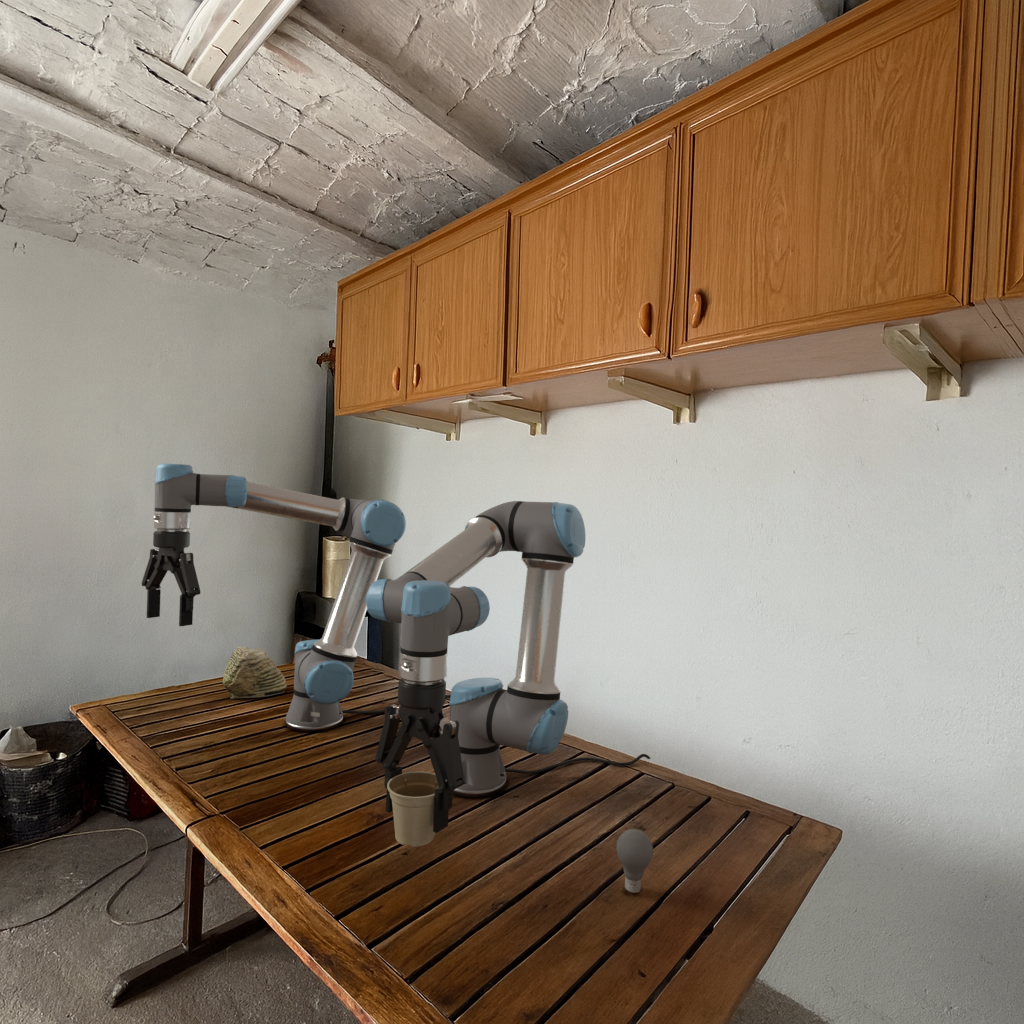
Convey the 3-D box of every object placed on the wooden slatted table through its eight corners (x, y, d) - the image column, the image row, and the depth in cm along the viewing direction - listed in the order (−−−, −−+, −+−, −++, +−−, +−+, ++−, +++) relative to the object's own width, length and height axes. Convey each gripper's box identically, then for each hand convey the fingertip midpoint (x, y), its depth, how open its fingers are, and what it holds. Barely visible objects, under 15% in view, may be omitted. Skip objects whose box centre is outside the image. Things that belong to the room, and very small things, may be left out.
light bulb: (610, 879, 108) (613, 822, 108) (644, 879, 109) (647, 822, 109) (619, 902, 102) (622, 840, 102) (655, 901, 103) (658, 840, 103)
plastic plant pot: (371, 839, 100) (374, 785, 100) (412, 816, 108) (415, 766, 107) (416, 860, 94) (419, 803, 94) (456, 834, 102) (458, 781, 102)
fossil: (218, 695, 195) (220, 647, 195) (278, 685, 208) (279, 640, 207) (228, 703, 189) (230, 653, 188) (289, 692, 201) (290, 645, 201)
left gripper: (127, 527, 151) (124, 616, 151) (187, 534, 137) (183, 631, 138) (158, 526, 157) (156, 612, 157) (219, 533, 144) (215, 626, 144)
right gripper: (356, 670, 104) (350, 806, 104) (462, 698, 92) (455, 852, 92) (389, 662, 110) (383, 790, 110) (492, 687, 98) (485, 831, 98)
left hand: (169, 621), depth 147 cm, fingers open, 13 cm apart
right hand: (416, 818), depth 101 cm, fingers closed on plastic plant pot, 9 cm apart
